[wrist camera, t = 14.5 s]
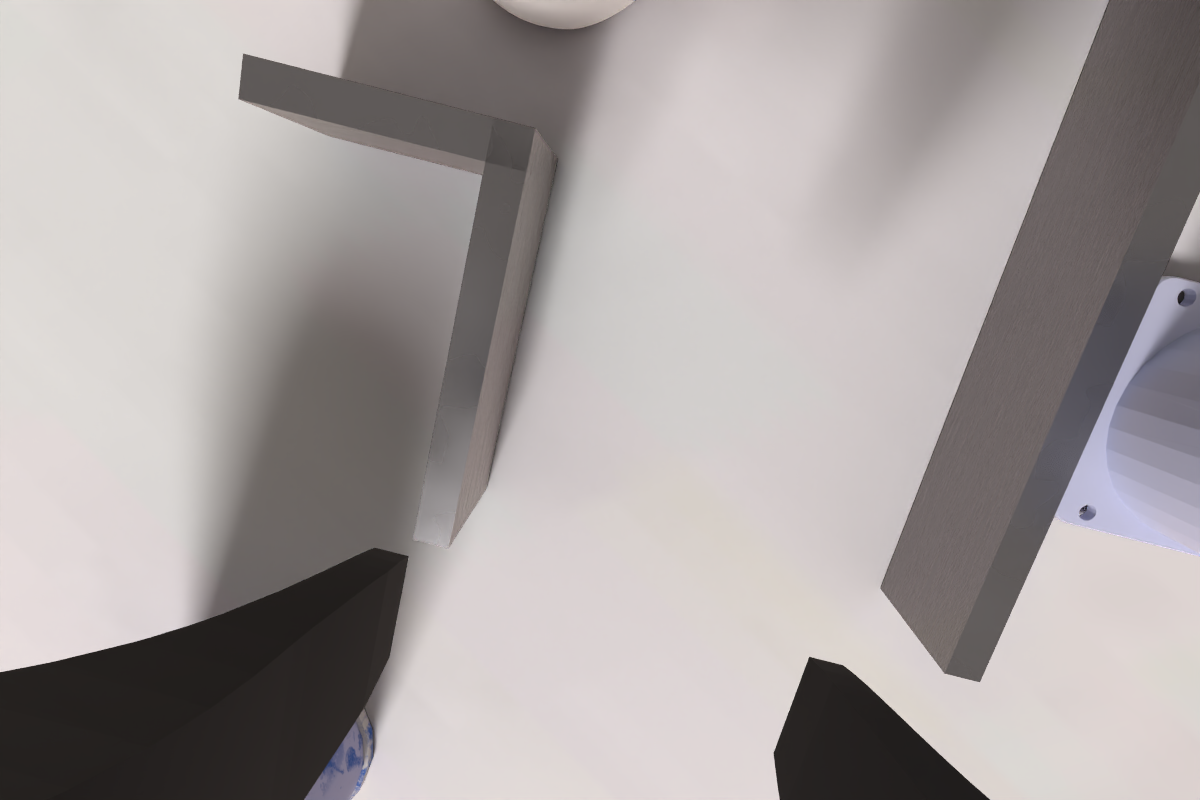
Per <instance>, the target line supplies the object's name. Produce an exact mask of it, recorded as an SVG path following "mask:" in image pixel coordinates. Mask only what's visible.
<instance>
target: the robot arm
mask: <svg viewBox="0 0 1200 800" xmlns="http://www.w3.org/2000/svg"><path fill="white" fill-rule="evenodd" d="M1181 291H1184V293H1185V296H1184V300H1183V301H1182V302H1181V303H1180V304H1179V303H1178V301H1177V298H1178V295H1179V293H1180V292H1181ZM1086 505H1087V510H1086V512H1085V513H1084V514H1082V515H1080V516H1079V511H1080V509H1081V508H1082V507H1084V506H1086ZM1054 517H1056V518H1057V519H1059V520H1061V521H1063V522H1065V523H1069V524H1073V525H1077V526H1081V527H1085V528H1089V529H1093V530H1097V531H1101V532H1104V533H1108V534H1112V535H1116V536H1120V537H1124V538H1128V539H1132V540H1136V541H1140V542H1144V543H1148V544H1152V545H1156V546H1160V547H1164V548H1168V549H1172V550H1176V551H1180V552H1184V553H1188V554H1192V555H1196V556H1200V282H1196V281H1192V280H1188V279H1184V278H1181V277H1176V276H1162V277H1161V279H1160V282H1159V284H1158V286H1157V288H1156V290H1155V293H1154V295H1153V297H1152V299H1151V302H1150V304H1149V306H1148V308H1147V311H1146V313H1145V315H1144V317H1143V319H1142V322H1141V324H1140V326H1139V328H1138V331H1137V333H1136V335H1135V337H1134V340H1133V342H1132V344H1131V346H1130V348H1129V351H1128V353H1127V355H1126V357H1125V360H1124V362H1123V364H1122V366H1121V369H1120V371H1119V373H1118V375H1117V377H1116V380H1115V382H1114V384H1113V386H1112V389H1111V391H1110V393H1109V395H1108V397H1107V400H1106V402H1105V404H1104V406H1103V409H1102V411H1101V413H1100V415H1099V418H1098V420H1097V422H1096V424H1095V426H1094V429H1093V431H1092V433H1091V435H1090V438H1089V440H1088V442H1087V444H1086V447H1085V449H1084V451H1083V453H1082V455H1081V458H1080V460H1079V462H1078V464H1077V467H1076V469H1075V471H1074V473H1073V475H1072V478H1071V480H1070V482H1069V484H1068V487H1067V489H1066V491H1065V493H1064V496H1063V498H1062V500H1061V502H1060V504H1059V507H1058V509H1057V511H1056V513H1055V516H1054ZM408 557H409V556H405V555H401V554H397V553H393V552H389V551H385V550H381V549H377V548H373V549H371V550H368V551H366V552H364V553H361V554H359V555H357V556H355V557H353V558H351V559H348V560H346V561H344V562H342V563H340V564H338V565H336V566H334V567H332V568H329V569H327V570H325V571H323V572H321V573H319V574H316V575H314V576H312V577H310V578H308V579H305V580H303V581H301V582H299V583H297V584H294V585H292V586H290V587H288V588H286V589H283V590H281V591H279V592H276V593H274V594H271V595H269V596H266V597H264V598H261V599H259V600H256V601H254V602H251V603H249V604H246V605H244V606H241V607H239V608H236V609H234V610H231V611H229V612H226V613H224V614H221V615H218V616H216V617H213V618H210V619H207V620H204V621H201V622H198V623H195V624H192V625H190V626H186V627H183V628H180V629H177V630H173V631H170V632H167V633H164V634H160V635H157V636H154V637H151V638H147V639H144V640H140V641H137V642H133V643H129V644H125V645H121V646H117V647H113V648H108V649H104V650H100V651H96V652H92V653H88V654H84V655H80V656H76V657H72V658H67V659H63V660H59V661H55V662H50V663H46V664H41V665H36V666H31V667H25V668H20V669H15V670H10V671H5V672H0V800H304V799H305V798H306V796H307V795H308V793H309V792H310V790H311V789H312V787H313V786H314V784H315V783H316V781H317V780H318V778H319V777H320V775H321V774H322V772H323V770H324V769H325V767H326V766H327V764H328V763H329V761H330V760H331V758H332V757H333V755H334V754H335V752H336V751H337V749H338V748H339V746H340V745H341V743H342V742H343V740H344V738H345V737H346V735H347V734H348V732H349V731H350V729H351V728H352V726H353V725H354V723H355V722H356V720H357V718H358V717H359V715H360V714H361V712H362V711H363V709H364V707H365V705H366V703H367V701H368V699H369V697H370V695H371V693H372V691H373V689H374V687H375V685H376V683H377V681H378V679H379V677H380V675H381V673H382V671H383V669H384V667H385V665H386V663H387V661H388V659H389V656H390V651H391V646H392V640H393V635H394V630H395V625H396V619H397V614H398V609H399V604H400V599H401V593H402V588H403V583H404V578H405V572H406V567H407V562H408ZM774 760H775V768H776V776H777V784H778V791H779V797H780V800H990V799H989V798H987V797H986V796H985V795H984V794H983V793H982V792H981V791H979V790H978V789H977V788H976V787H975V786H974V785H973V784H971V783H970V782H969V781H968V780H967V779H966V778H965V777H964V776H963V775H962V774H960V773H959V772H958V771H957V770H956V769H955V768H954V767H953V766H952V765H951V764H949V763H948V762H947V761H946V760H945V759H944V758H943V757H942V756H941V755H940V754H939V753H938V752H937V751H936V750H934V749H933V748H932V747H931V746H930V745H929V744H928V743H927V742H926V741H925V740H924V739H923V738H922V737H921V736H920V735H919V734H918V733H917V732H916V731H914V730H913V729H912V728H911V727H910V726H909V725H908V724H907V723H906V722H905V721H904V720H903V719H902V718H901V717H900V716H899V715H898V714H897V713H896V712H895V711H894V710H893V709H892V708H890V707H889V706H888V705H887V704H886V703H885V702H884V701H883V700H882V699H881V698H880V697H879V696H878V695H877V694H876V693H875V692H874V691H872V690H871V689H870V688H869V687H868V686H867V685H866V684H865V683H864V682H863V681H862V680H860V679H859V678H858V677H857V676H856V675H855V674H853V673H852V672H851V671H850V670H848V669H847V668H846V667H845V666H843V665H839V664H835V663H831V662H827V661H823V660H819V659H815V658H811V657H809V659H808V662H807V665H806V667H805V670H804V673H803V675H802V678H801V681H800V684H799V686H798V689H797V692H796V694H795V697H794V700H793V702H792V705H791V708H790V711H789V713H788V716H787V719H786V721H785V724H784V727H783V729H782V732H781V735H780V737H779V740H778V743H777V746H776V748H775V751H774Z"/></svg>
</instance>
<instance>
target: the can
mask: <svg viewBox="0 0 1200 800" xmlns="http://www.w3.org/2000/svg"><path fill="white" fill-rule="evenodd" d="M494 1H495V2H496V3H497V4H498V5H500V6H501V7H502V8H504V9H505V10H506V11H508V12H509V13H511V14H513V15H515V16H516V17H518V18H520V19H523V20H525V21H527V22H530V23H533V24H536V25H540V26H544V27H549V28H556V29H578V28H583V27H587V26H591V25H594V24H596V23H599V22H601V21H603V20H606V19H608V18H610V17H612V16H613V15H615V14H617V13H618V12H620V11H622V10H623V9H625V8H626V7H627V6H629V5H630V4H631V3H633V2H634V1H635V0H494Z"/></svg>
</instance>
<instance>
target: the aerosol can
mask: <svg viewBox="0 0 1200 800" xmlns="http://www.w3.org/2000/svg"><path fill="white" fill-rule="evenodd" d="M372 758H373V732H372V727H371V724H370V722H369V719H368V716H367V714H366V711H365V709H363V711H362V712H361V714H360V715H359V717H358V718H357V720H356V722H355V723H354V725H353V726H352V728H351V729H350V731H349V732H348V734H347V735H346V737H345V738H344V740H343V742H342V743H341V745H340V746H339V748H338V749H337V751H336V752H335V754H334V755H333V757H332V758H331V760H330V761H329V763H328V764H327V766H326V767H325V769H324V770H323V772H322V774H321V775H320V777H319V778H318V780H317V781H316V783H315V784H314V786H313V787H312V789H311V790H310V792H309V793H308V795H307V796H306V798H305V799H304V800H351V799H352V798H353V797H354V796H355V795H356V794H357V792H358V791H359V790H360V788H361V786H362V785H363V783H364V781H365V778H366V775H367V772H368V769H369V767H370V764H371V761H372Z"/></svg>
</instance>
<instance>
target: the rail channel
mask: <svg viewBox="0 0 1200 800" xmlns="http://www.w3.org/2000/svg"><path fill="white" fill-rule="evenodd" d="M239 99H240V100H242V101H245V102H247V103H250V104H252V105H254V106H257V107H259V108H262V109H264V110H267V111H269V112H272V113H274V114H276V115H279V116H281V117H284V118H286V119H289V120H291V121H294V122H296V123H298V124H301V125H303V126H306V127H308V128H311V129H313V130H316V131H318V132H321V133H323V134H325V135H328V136H331V137H335V138H339V139H343V140H347V141H351V142H355V143H359V144H362V145H366V146H370V147H374V148H378V149H382V150H386V151H390V152H394V153H398V154H402V155H406V156H410V157H414V158H418V159H421V160H425V161H429V162H433V163H437V164H441V165H445V166H449V167H453V168H457V169H461V170H465V171H469V172H473V173H477V174H480V175H483V176H482V182H481V187H480V192H479V197H478V203H477V208H476V213H475V218H474V223H473V229H472V234H471V239H470V244H469V249H468V255H467V260H466V265H465V270H464V275H463V281H462V286H461V291H460V296H459V301H458V307H457V312H456V317H455V322H454V327H453V333H452V338H451V343H450V348H449V354H448V359H447V364H446V369H445V374H444V380H443V385H442V390H441V395H440V400H439V406H438V411H437V416H436V421H435V426H434V432H433V437H432V442H431V447H430V452H429V458H428V463H427V468H426V473H425V478H424V484H423V489H422V494H421V499H420V505H419V510H418V515H417V520H416V525H415V531H414V536H413V540H416V541H420V542H424V543H428V544H432V545H436V546H440V547H444V548H449V547H450V545H451V544H452V542H453V541H454V539H455V537H456V536H457V534H458V533H459V531H460V530H461V528H462V526H463V525H464V523H465V522H466V520H467V519H468V517H469V515H470V514H471V512H472V511H473V509H474V508H475V506H476V504H477V503H478V501H479V500H480V498H481V497H482V495H483V493H484V492H485V490H486V488H487V483H488V479H489V474H490V469H491V465H492V460H493V456H494V451H495V446H496V442H497V437H498V433H499V428H500V423H501V419H502V414H503V410H504V405H505V400H506V396H507V391H508V387H509V382H510V377H511V373H512V368H513V364H514V359H515V354H516V350H517V345H518V341H519V336H520V331H521V327H522V322H523V318H524V313H525V308H526V304H527V299H528V295H529V290H530V285H531V281H532V276H533V272H534V267H535V262H536V258H537V253H538V249H539V244H540V239H541V235H542V230H543V226H544V221H545V216H546V212H547V207H548V203H549V198H550V193H551V189H552V184H553V180H554V175H555V170H556V166H557V161H558V158H557V157H556V155H555V154H554V153H553V151H552V150H551V149H550V147H549V146H548V144H547V143H546V142H545V140H544V139H543V138H542V136H541V135H540V134H539V132H538V131H537V129H536V128H533V127H529V126H525V125H521V124H517V123H514V122H510V121H506V120H502V119H498V118H494V117H490V116H486V115H482V114H478V113H474V112H470V111H466V110H462V109H459V108H455V107H451V106H447V105H443V104H439V103H435V102H431V101H427V100H423V99H419V98H415V97H411V96H407V95H404V94H400V93H396V92H392V91H388V90H384V89H380V88H376V87H372V86H368V85H364V84H360V83H356V82H353V81H349V80H345V79H341V78H337V77H333V76H329V75H325V74H321V73H317V72H313V71H309V70H305V69H301V68H298V67H294V66H290V65H286V64H282V63H278V62H274V61H270V60H266V59H262V58H258V57H254V56H250V55H246V54H243V61H242V70H241V80H240V90H239ZM1199 192H1200V0H1110V1H1109V4H1108V7H1107V9H1106V12H1105V14H1104V17H1103V19H1102V22H1101V25H1100V27H1099V30H1098V32H1097V35H1096V37H1095V40H1094V43H1093V45H1092V48H1091V50H1090V53H1089V55H1088V58H1087V60H1086V63H1085V66H1084V68H1083V71H1082V73H1081V76H1080V78H1079V81H1078V84H1077V86H1076V89H1075V91H1074V94H1073V96H1072V99H1071V101H1070V104H1069V107H1068V109H1067V112H1066V114H1065V117H1064V119H1063V122H1062V125H1061V127H1060V130H1059V132H1058V135H1057V137H1056V140H1055V142H1054V145H1053V148H1052V150H1051V153H1050V155H1049V158H1048V160H1047V163H1046V166H1045V168H1044V171H1043V173H1042V176H1041V178H1040V181H1039V184H1038V186H1037V189H1036V191H1035V194H1034V196H1033V199H1032V201H1031V204H1030V207H1029V209H1028V212H1027V214H1026V217H1025V219H1024V222H1023V225H1022V227H1021V230H1020V232H1019V235H1018V237H1017V240H1016V242H1015V245H1014V248H1013V250H1012V253H1011V255H1010V258H1009V260H1008V263H1007V266H1006V268H1005V271H1004V273H1003V276H1002V278H1001V281H1000V283H999V286H998V289H997V291H996V294H995V296H994V299H993V301H992V304H991V307H990V309H989V312H988V314H987V317H986V319H985V322H984V325H983V327H982V330H981V332H980V335H979V337H978V340H977V342H976V345H975V348H974V350H973V353H972V355H971V358H970V360H969V363H968V366H967V368H966V371H965V373H964V376H963V378H962V381H961V383H960V386H959V389H958V391H957V394H956V396H955V399H954V401H953V404H952V407H951V409H950V412H949V414H948V417H947V419H946V422H945V424H944V427H943V430H942V432H941V435H940V437H939V440H938V442H937V445H936V448H935V450H934V453H933V455H932V458H931V460H930V463H929V466H928V468H927V471H926V473H925V476H924V478H923V481H922V483H921V486H920V489H919V491H918V494H917V496H916V499H915V501H914V504H913V507H912V509H911V512H910V514H909V517H908V519H907V522H906V524H905V527H904V530H903V532H902V535H901V537H900V540H899V542H898V545H897V548H896V550H895V553H894V555H893V558H892V560H891V563H890V565H889V568H888V571H887V573H886V576H885V578H884V581H883V583H882V586H881V590H882V591H883V592H884V594H885V595H886V596H887V598H888V599H889V600H890V602H891V603H892V604H893V606H894V607H895V608H896V610H897V611H898V612H899V614H900V615H901V616H902V618H903V619H904V620H905V622H906V623H907V624H908V626H909V627H910V628H911V630H912V631H913V632H914V634H915V635H916V636H917V638H918V639H919V640H920V642H921V643H922V644H923V645H924V647H925V648H926V649H927V651H928V652H929V653H930V655H931V656H932V657H933V659H934V660H935V661H936V663H937V664H938V665H939V667H940V668H941V669H942V671H943V672H944V673H945V674H949V675H953V676H957V677H961V678H965V679H969V680H973V681H977V682H980V681H981V678H982V676H983V674H984V672H985V669H986V667H987V665H988V663H989V660H990V658H991V656H992V654H993V652H994V649H995V647H996V645H997V643H998V640H999V638H1000V636H1001V634H1002V631H1003V629H1004V627H1005V625H1006V623H1007V620H1008V618H1009V616H1010V614H1011V611H1012V609H1013V607H1014V605H1015V603H1016V600H1017V598H1018V596H1019V594H1020V591H1021V589H1022V587H1023V585H1024V582H1025V580H1026V578H1027V576H1028V574H1029V571H1030V569H1031V567H1032V565H1033V562H1034V560H1035V558H1036V556H1037V553H1038V551H1039V549H1040V547H1041V545H1042V542H1043V540H1044V538H1045V536H1046V533H1047V531H1048V529H1049V527H1050V525H1051V522H1052V520H1053V518H1054V516H1055V513H1056V511H1057V509H1058V507H1059V504H1060V502H1061V500H1062V498H1063V496H1064V493H1065V491H1066V489H1067V487H1068V484H1069V482H1070V480H1071V478H1072V475H1073V473H1074V471H1075V469H1076V467H1077V464H1078V462H1079V460H1080V458H1081V455H1082V453H1083V451H1084V449H1085V447H1086V444H1087V442H1088V440H1089V438H1090V435H1091V433H1092V431H1093V429H1094V426H1095V424H1096V422H1097V420H1098V418H1099V415H1100V413H1101V411H1102V409H1103V406H1104V404H1105V402H1106V400H1107V397H1108V395H1109V393H1110V391H1111V389H1112V386H1113V384H1114V382H1115V380H1116V377H1117V375H1118V373H1119V371H1120V369H1121V366H1122V364H1123V362H1124V360H1125V357H1126V355H1127V353H1128V351H1129V348H1130V346H1131V344H1132V342H1133V340H1134V337H1135V335H1136V333H1137V331H1138V328H1139V326H1140V324H1141V322H1142V319H1143V317H1144V315H1145V313H1146V311H1147V308H1148V306H1149V304H1150V302H1151V299H1152V297H1153V295H1154V293H1155V290H1156V288H1157V286H1158V284H1159V282H1160V279H1161V277H1162V275H1163V273H1164V270H1165V268H1166V266H1167V264H1168V262H1169V259H1170V257H1171V255H1172V253H1173V250H1174V248H1175V246H1176V244H1177V241H1178V239H1179V237H1180V235H1181V233H1182V230H1183V228H1184V226H1185V224H1186V221H1187V219H1188V217H1189V215H1190V212H1191V210H1192V208H1193V206H1194V204H1195V201H1196V199H1197V197H1198V195H1199Z"/></svg>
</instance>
